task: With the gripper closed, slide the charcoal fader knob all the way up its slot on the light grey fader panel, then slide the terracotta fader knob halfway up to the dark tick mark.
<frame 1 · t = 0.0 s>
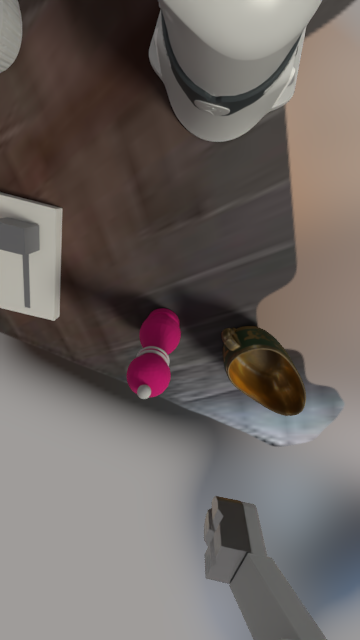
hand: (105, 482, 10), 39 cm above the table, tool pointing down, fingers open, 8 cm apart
charcoal fader: (16, 236, 41), point 4 cm above the table, slide at 0.0 cm
pepper mill: (163, 322, 51), on the table
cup: (256, 349, 52), on the table
fader panel: (4, 253, 47), on the table
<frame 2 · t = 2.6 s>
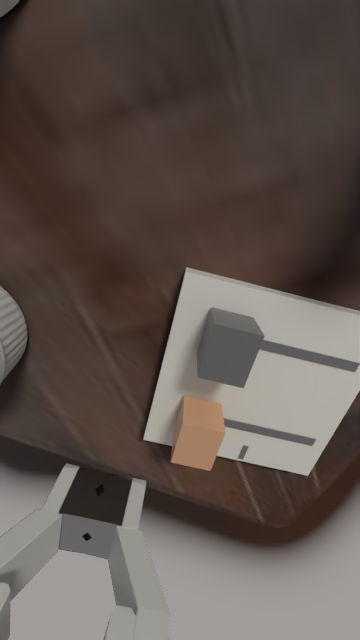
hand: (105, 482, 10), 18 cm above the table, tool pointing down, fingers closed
charcoal fader: (226, 346, 23), point 4 cm above the table, slide at 0.0 cm
terracotta fader: (196, 431, 27), point 4 cm above the table, slide at 0.0 cm
fader panel: (252, 378, 29), on the table
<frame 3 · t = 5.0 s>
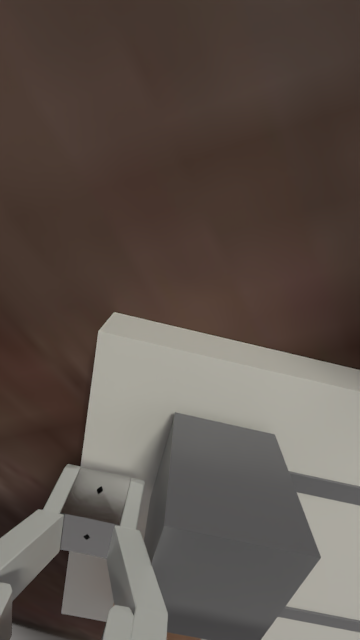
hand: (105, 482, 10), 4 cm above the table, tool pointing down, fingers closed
charcoal fader: (210, 519, 9), point 4 cm above the table, slide at 0.4 cm, touching gripper
fader panel: (260, 510, 15), on the table
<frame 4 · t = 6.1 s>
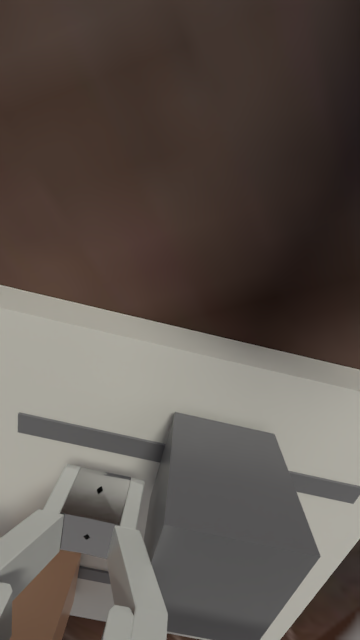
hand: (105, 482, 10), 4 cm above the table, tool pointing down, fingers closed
charcoal fader: (210, 518, 9), point 4 cm above the table, slide at 6.7 cm, touching gripper
terracotta fader: (19, 623, 13), point 4 cm above the table, slide at 0.0 cm
fader panel: (154, 488, 15), on the table
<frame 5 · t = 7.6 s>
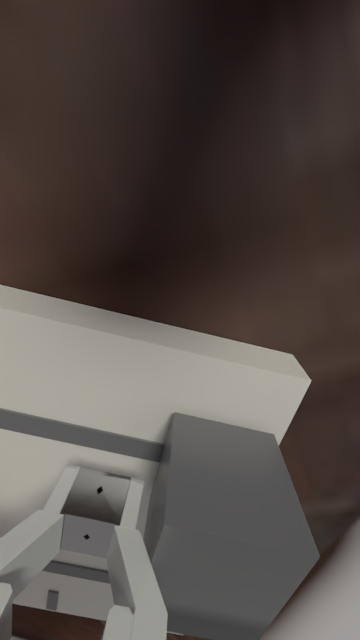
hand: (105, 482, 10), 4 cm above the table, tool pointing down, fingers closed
charcoal fader: (210, 518, 9), point 4 cm above the table, slide at 12.4 cm, touching gripper
fader panel: (52, 466, 15), on the table
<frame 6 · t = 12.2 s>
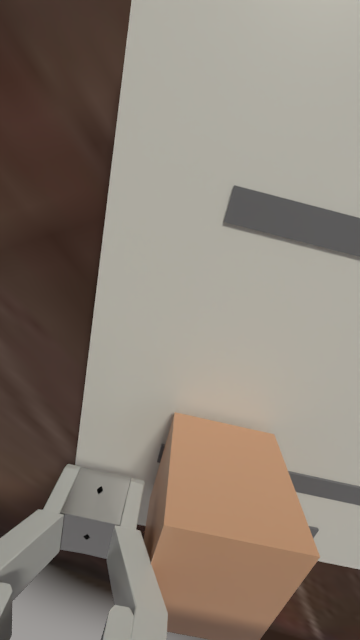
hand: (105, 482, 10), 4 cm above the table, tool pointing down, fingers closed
terracotta fader: (210, 518, 9), point 4 cm above the table, slide at 0.6 cm, touching gripper
fader panel: (331, 363, 12), on the table
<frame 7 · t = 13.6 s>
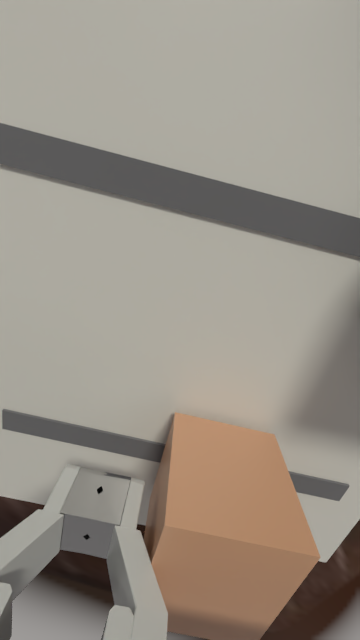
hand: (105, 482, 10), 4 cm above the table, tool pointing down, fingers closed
terracotta fader: (210, 518, 9), point 4 cm above the table, slide at 7.3 cm, touching gripper
fader panel: (184, 328, 11), on the table
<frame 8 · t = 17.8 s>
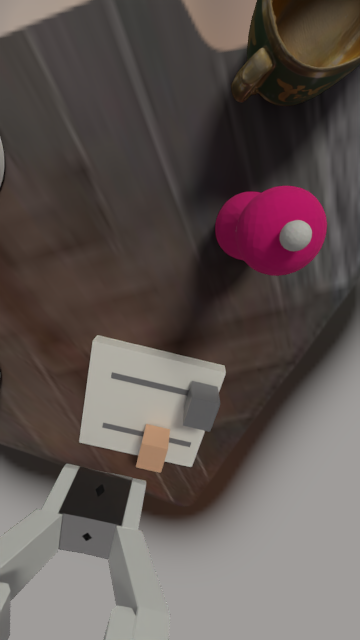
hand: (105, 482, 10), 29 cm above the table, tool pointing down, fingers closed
charcoal fader: (200, 405, 39), point 4 cm above the table, slide at 12.5 cm
terracotta fader: (153, 447, 42), point 4 cm above the table, slide at 7.4 cm
pepper mill: (241, 225, 34), on the table
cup: (310, 36, 27), on the table
fader panel: (148, 402, 44), on the table
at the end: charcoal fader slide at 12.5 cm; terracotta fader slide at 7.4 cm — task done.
